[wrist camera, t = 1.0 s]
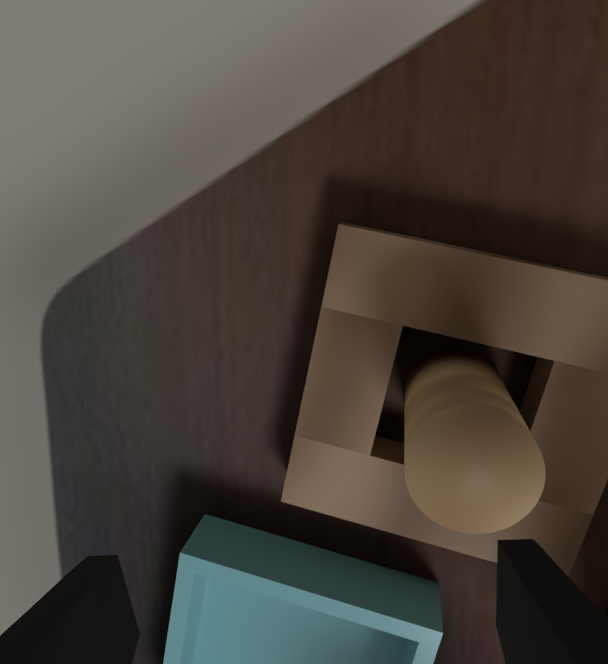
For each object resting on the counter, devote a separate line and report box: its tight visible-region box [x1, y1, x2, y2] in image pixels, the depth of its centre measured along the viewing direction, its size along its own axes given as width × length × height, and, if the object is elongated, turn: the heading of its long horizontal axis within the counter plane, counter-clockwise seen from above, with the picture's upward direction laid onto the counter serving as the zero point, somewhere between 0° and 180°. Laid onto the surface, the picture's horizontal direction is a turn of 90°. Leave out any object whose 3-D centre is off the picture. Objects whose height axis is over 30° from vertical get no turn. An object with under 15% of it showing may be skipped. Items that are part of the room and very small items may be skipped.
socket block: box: [281, 222, 608, 577], centre depth 21 cm, size 12×12×2 cm
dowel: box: [404, 347, 546, 534], centre depth 19 cm, size 4×4×7 cm
